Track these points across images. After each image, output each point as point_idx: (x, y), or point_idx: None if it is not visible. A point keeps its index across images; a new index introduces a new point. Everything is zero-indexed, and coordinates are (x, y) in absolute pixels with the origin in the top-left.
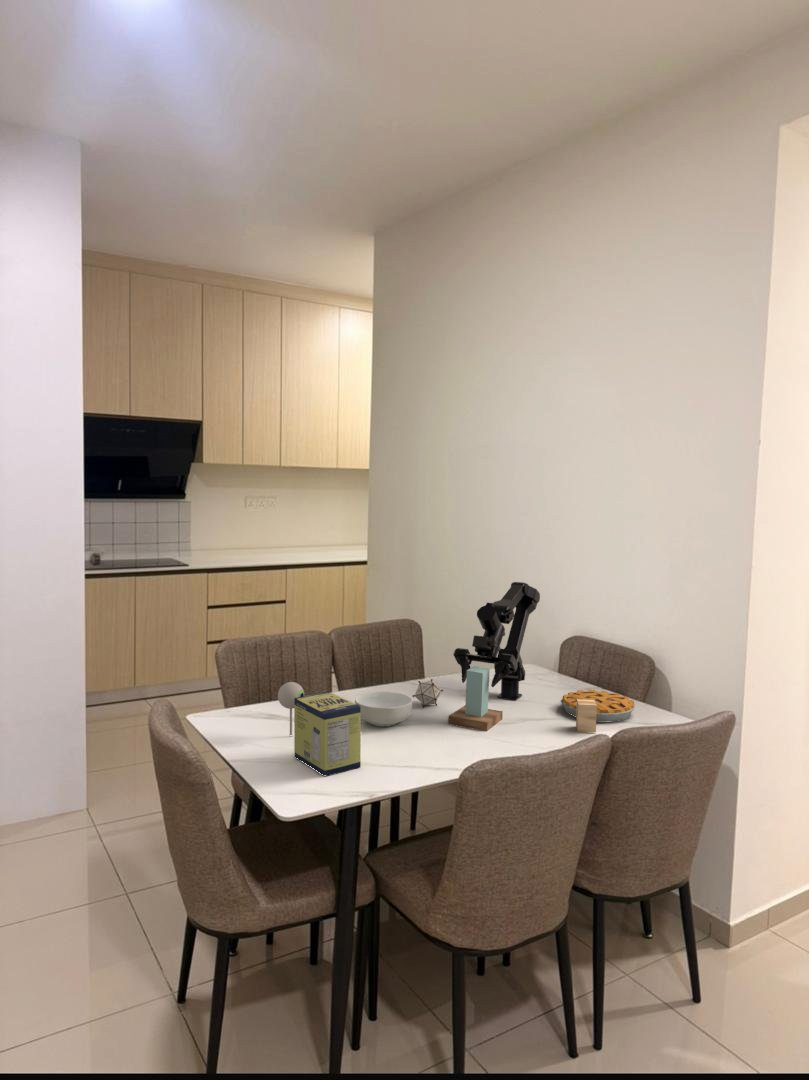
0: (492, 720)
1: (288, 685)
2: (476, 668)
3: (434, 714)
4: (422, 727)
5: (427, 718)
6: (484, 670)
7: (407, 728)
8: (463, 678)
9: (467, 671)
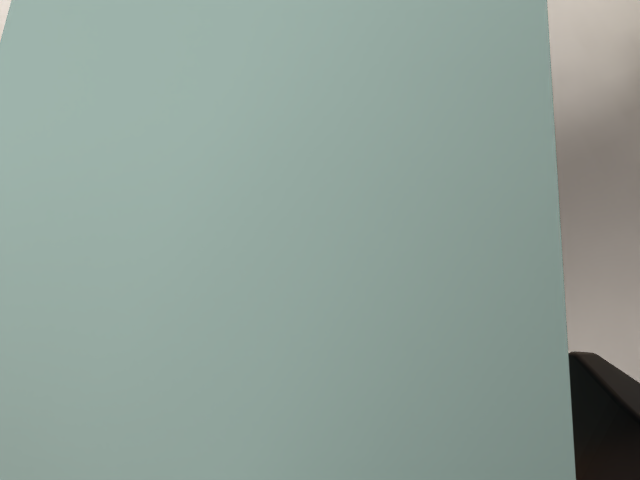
0: None
1: None
2: (376, 319)
3: (632, 373)
4: (557, 75)
5: (625, 258)
6: (40, 222)
7: (623, 26)
8: (601, 377)
9: (511, 5)
